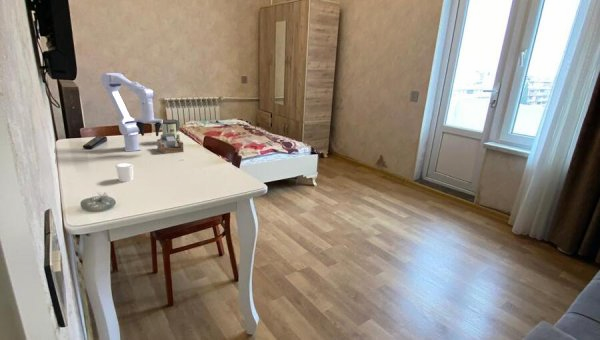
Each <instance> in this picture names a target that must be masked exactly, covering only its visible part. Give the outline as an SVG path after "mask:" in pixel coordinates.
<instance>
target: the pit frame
mask: <svg viewBox="0 0 600 340" xmlns="http://www.w3.org/2000/svg"><path fill="white" fill-rule="evenodd" d="M175 139H176V141H177V143H178V145H179V147H173V148H164V144H163V143H162V142H161V141H160V138H159V139H157V140H156V144H157V149H158V151H159V152H160V153H161V154H162V155H165V154H175V153H184V142H183V141H181V140H179V139H178V138H175Z"/></svg>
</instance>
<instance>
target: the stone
mask: <svg viewBox="0 0 600 340" xmlns="http://www.w3.org/2000/svg"><path fill="white" fill-rule="evenodd" d="M175 141H176V140H175V138H174V136H172V137H166V144H167V147H175Z"/></svg>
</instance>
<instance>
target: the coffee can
mask: <svg viewBox="0 0 600 340" xmlns="http://www.w3.org/2000/svg"><path fill="white" fill-rule="evenodd" d="M179 124H180V123H179V120H178V119H163V123H162V124H161V132H162V135H163V134H174V135H175V138H178V139H179V140H180V139H181V138H180V125H179ZM180 141H181V140H180Z"/></svg>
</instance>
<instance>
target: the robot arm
mask: <svg viewBox="0 0 600 340" xmlns="http://www.w3.org/2000/svg"><path fill="white" fill-rule="evenodd" d="M100 81H101V83H102V86H103V88H104V89H105V91H106V93H107V95H108V97H109V100H110V102H111V103H112V105H113V108H114V109H115V112H116V113H117V115H118V118H119V119H120V120H119V121H118V123H117V125H118V128H119V129H118V130H119V132H120V134H122V136H123V139H124V147H123V149H124V151H125V152H136V151H142V148H141V147H140V144H139V135H138V134H139V133H140V134H141V135H140V136H141V137H143V136H145V130H144V128H145V127H144V123H145V124H147V123H148V124H153V125H154V130H155V136H156V137H158V136H159V133H160V128H161V127H162V123H163V120H164V119H162V118H161V119H160V118H155V113H154V112H155V111H154V104H153V103H154V102H153V99H154V97H155V92H154V90H153V89H152V88H150V87H145V86H144V85H142V84H140V83H139V82H138V81H131V80H130V79H128V78H127V77H125V75H124V74H123V73H121V72H103V73H102V74H101V78H100ZM122 85H123V86H125V87H127V88H128V90H129V91H130V92H131V93H132V94H135V95H136V96H137V97H138V100H139V103H140V107H141V108H140V109H141V116H142V118H134V117H132V116H130V113H129V111H128V110H127V107H126V105H125V103H124V101H123V99H122V96H121V95H120V93H119V90H120V89H121V88H122Z"/></svg>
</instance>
